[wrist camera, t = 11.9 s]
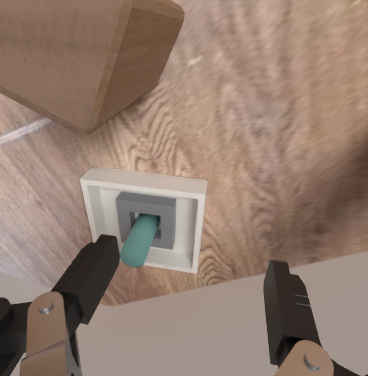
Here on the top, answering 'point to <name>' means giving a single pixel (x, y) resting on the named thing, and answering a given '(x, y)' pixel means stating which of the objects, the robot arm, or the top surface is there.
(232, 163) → the top surface
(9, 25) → the wooden block
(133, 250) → the peg
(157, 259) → the bin
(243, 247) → the top surface
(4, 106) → the top surface
